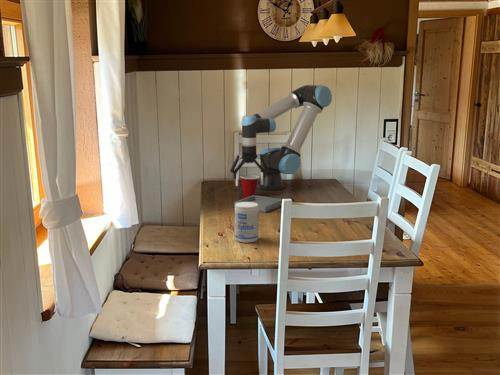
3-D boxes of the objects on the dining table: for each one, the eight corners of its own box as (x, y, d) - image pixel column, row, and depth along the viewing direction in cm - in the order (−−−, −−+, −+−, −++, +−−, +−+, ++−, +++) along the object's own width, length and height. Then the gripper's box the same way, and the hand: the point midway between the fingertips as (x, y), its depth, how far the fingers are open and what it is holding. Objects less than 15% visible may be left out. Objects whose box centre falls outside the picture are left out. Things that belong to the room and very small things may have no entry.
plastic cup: (257, 200, 282) (257, 177, 280) (237, 199, 284) (237, 177, 282) (261, 195, 293) (261, 173, 290) (241, 194, 295) (241, 173, 292)
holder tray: (253, 200, 281) (253, 195, 281) (283, 205, 272) (283, 199, 271) (234, 208, 267) (234, 202, 266) (265, 213, 257) (265, 206, 256)
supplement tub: (236, 244, 212) (236, 207, 208) (232, 236, 221) (232, 202, 218) (260, 242, 213) (260, 206, 210) (256, 235, 223) (255, 200, 219)
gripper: (270, 143, 289) (270, 182, 293) (224, 145, 284) (225, 184, 288) (274, 145, 281) (273, 185, 286) (226, 146, 276) (227, 187, 281)
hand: (249, 184), depth 287 cm, fingers open, 13 cm apart
